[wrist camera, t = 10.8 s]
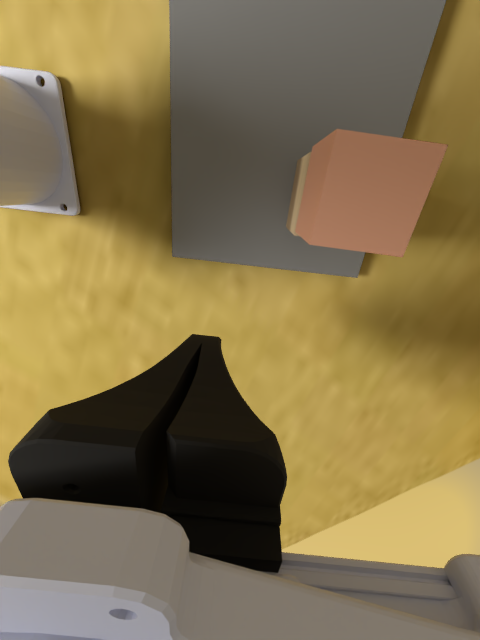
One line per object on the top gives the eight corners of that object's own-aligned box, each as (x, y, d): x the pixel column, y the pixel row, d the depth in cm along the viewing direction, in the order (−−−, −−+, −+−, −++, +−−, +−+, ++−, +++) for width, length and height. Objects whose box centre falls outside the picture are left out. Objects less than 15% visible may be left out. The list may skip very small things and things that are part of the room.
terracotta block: (294, 231, 14) (309, 244, 11) (312, 146, 13) (337, 128, 9) (365, 241, 15) (402, 257, 11) (392, 157, 13) (448, 144, 9)
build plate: (176, 253, 20) (172, 256, 19) (174, -200, 11) (166, -240, 10) (351, 273, 21) (357, 277, 20) (484, -157, 12) (507, -192, 11)
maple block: (285, 226, 18) (294, 235, 15) (297, 160, 16) (310, 151, 13) (342, 233, 18) (364, 243, 15) (360, 167, 16) (390, 161, 13)
